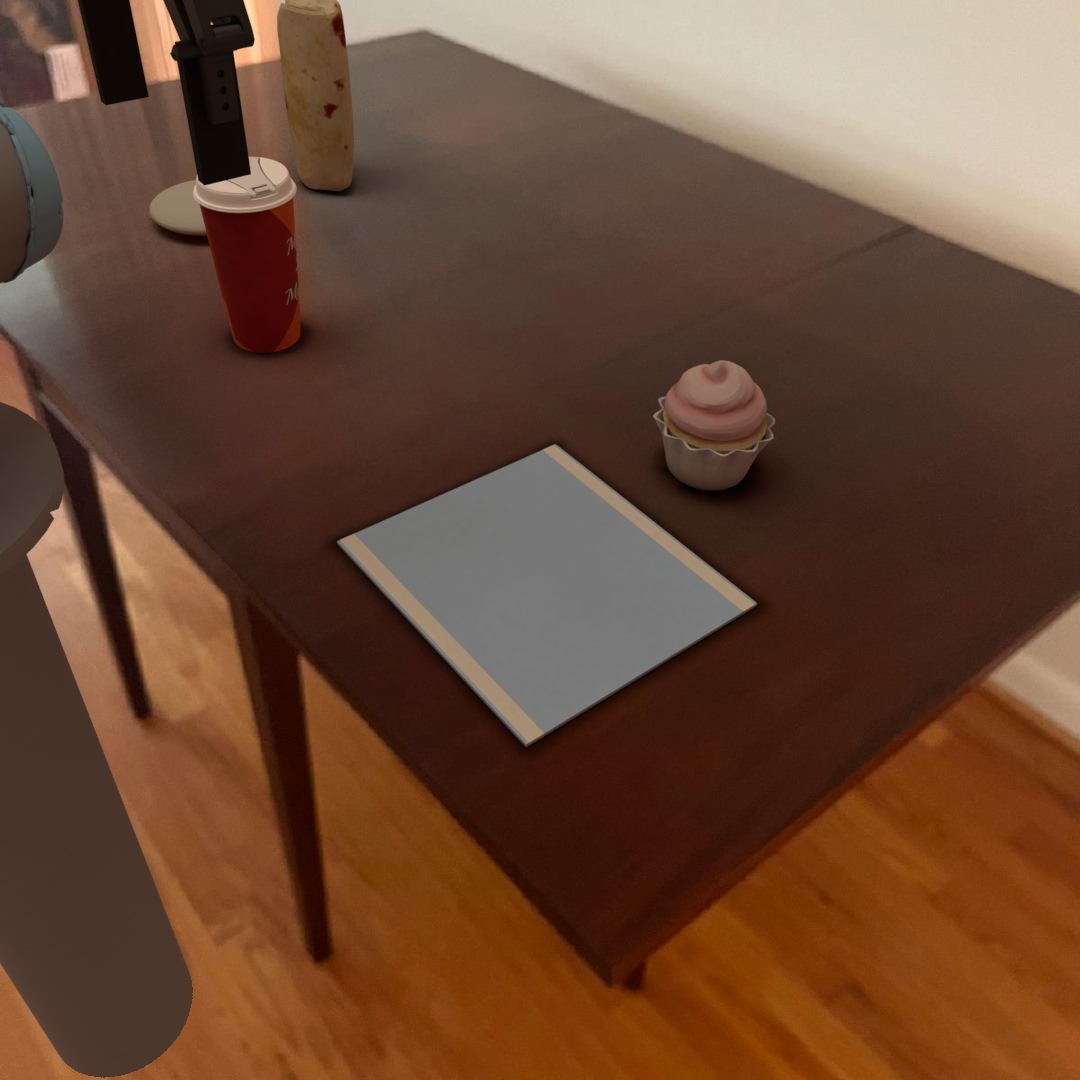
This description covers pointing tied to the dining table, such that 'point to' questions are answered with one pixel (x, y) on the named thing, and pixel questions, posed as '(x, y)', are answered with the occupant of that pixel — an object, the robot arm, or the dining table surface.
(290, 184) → the coffee cup
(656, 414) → the cupcake
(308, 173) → the food model
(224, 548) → the dining table surface
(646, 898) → the dining table surface
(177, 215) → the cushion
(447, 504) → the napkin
